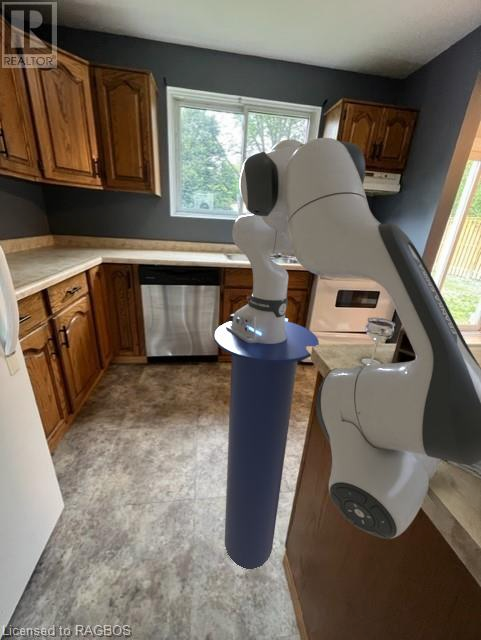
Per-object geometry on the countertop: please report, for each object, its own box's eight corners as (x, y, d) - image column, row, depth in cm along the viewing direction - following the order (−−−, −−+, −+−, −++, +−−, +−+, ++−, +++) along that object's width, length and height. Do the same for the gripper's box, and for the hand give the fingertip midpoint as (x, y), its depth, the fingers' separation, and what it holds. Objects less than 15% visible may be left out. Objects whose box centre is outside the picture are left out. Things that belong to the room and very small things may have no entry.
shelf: (391, 362, 75) (400, 329, 71) (401, 353, 81) (410, 322, 77) (428, 376, 69) (440, 340, 65) (437, 365, 75) (448, 331, 71)
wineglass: (353, 357, 77) (361, 317, 73) (374, 356, 78) (384, 317, 74) (367, 369, 71) (377, 326, 67) (390, 368, 72) (402, 326, 68)
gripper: (511, 469, 31) (516, 416, 41) (344, 389, 45) (376, 363, 54) (491, 506, 34) (500, 448, 43) (337, 420, 47) (369, 389, 56)
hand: (430, 400), depth 49 cm, fingers open, 8 cm apart
